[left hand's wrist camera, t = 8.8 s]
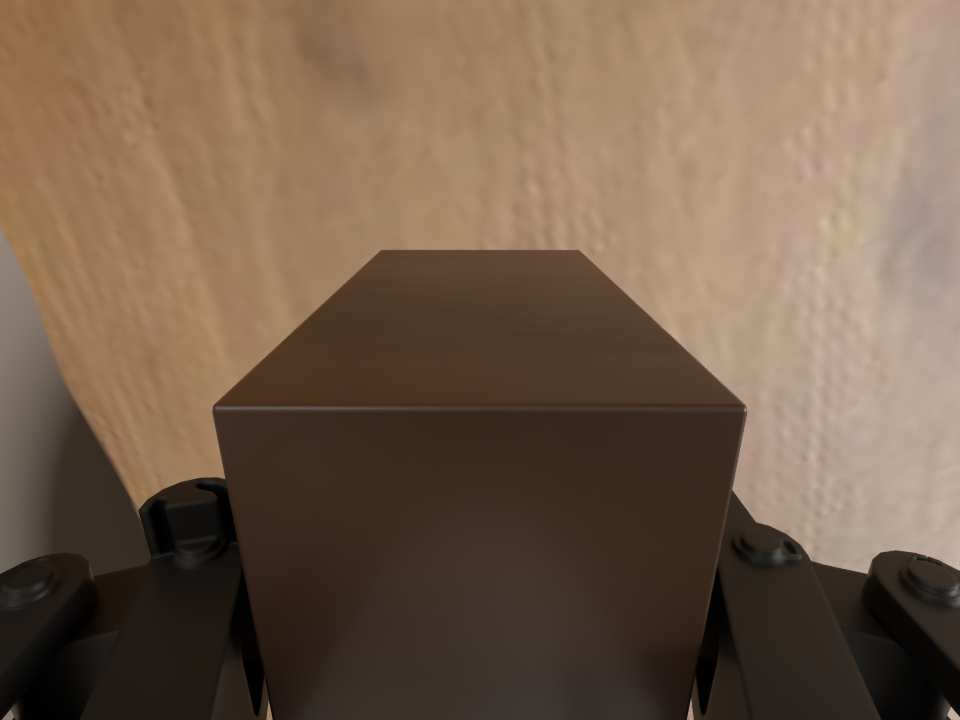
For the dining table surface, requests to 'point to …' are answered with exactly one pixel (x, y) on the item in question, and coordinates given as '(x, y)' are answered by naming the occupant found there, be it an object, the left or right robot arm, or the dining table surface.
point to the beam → (479, 496)
